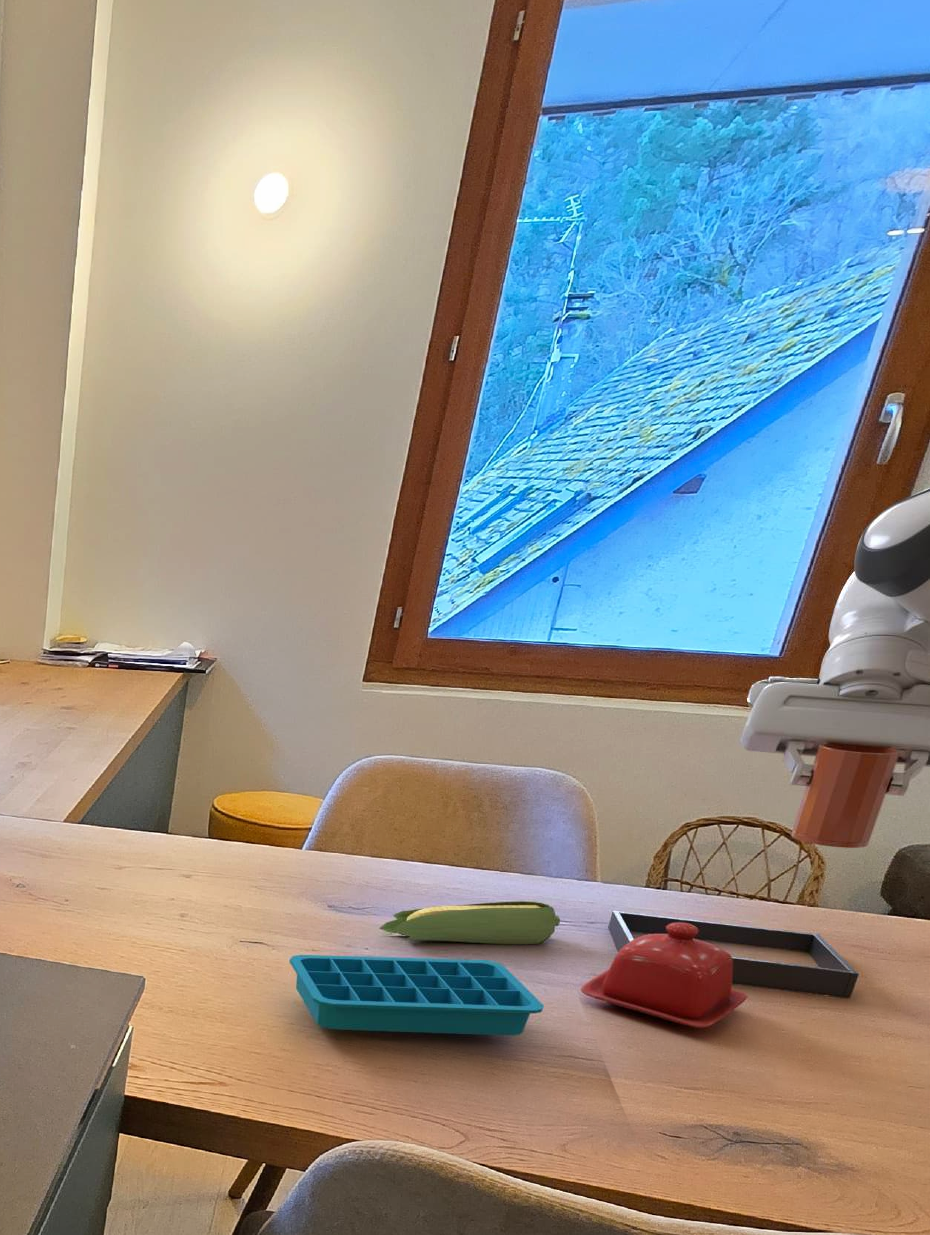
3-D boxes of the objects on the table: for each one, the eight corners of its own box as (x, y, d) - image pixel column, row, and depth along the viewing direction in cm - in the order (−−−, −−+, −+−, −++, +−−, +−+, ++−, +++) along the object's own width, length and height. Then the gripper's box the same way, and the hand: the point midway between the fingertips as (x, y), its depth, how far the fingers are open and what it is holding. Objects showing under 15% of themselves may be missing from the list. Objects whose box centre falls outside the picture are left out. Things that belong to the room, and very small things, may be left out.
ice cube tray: (541, 1040, 108) (549, 1010, 106) (311, 1032, 110) (316, 1003, 109) (491, 987, 118) (498, 960, 117) (282, 981, 120) (287, 954, 119)
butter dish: (570, 1000, 117) (593, 921, 114) (620, 971, 123) (643, 894, 120) (702, 1041, 109) (731, 957, 105) (749, 1008, 115) (778, 926, 111)
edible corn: (563, 951, 131) (573, 912, 129) (380, 951, 132) (388, 913, 130) (539, 933, 136) (549, 896, 134) (362, 934, 136) (370, 897, 134)
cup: (856, 835, 130) (887, 745, 127) (877, 850, 125) (910, 755, 121) (783, 830, 133) (812, 740, 129) (800, 844, 127) (830, 751, 123)
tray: (809, 960, 129) (819, 934, 127) (849, 1001, 118) (859, 973, 116) (605, 935, 136) (612, 910, 135) (624, 972, 125) (632, 945, 124)
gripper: (759, 657, 133) (735, 758, 129) (1003, 671, 122) (985, 781, 118) (745, 693, 138) (722, 791, 134) (979, 710, 127) (960, 816, 123)
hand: (847, 787), depth 126 cm, fingers closed on cup, 7 cm apart
